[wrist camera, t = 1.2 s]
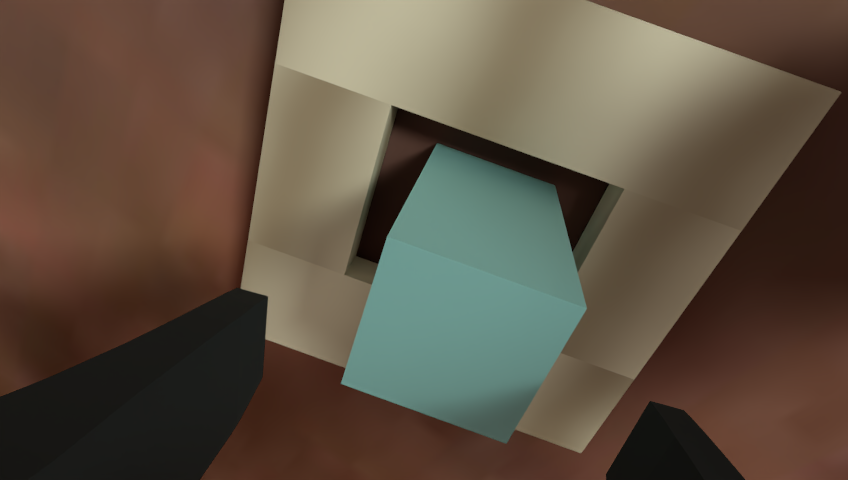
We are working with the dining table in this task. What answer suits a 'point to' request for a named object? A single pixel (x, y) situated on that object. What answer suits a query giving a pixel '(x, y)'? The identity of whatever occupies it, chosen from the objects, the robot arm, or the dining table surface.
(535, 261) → the teal block
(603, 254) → the board
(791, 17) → the dining table surface
